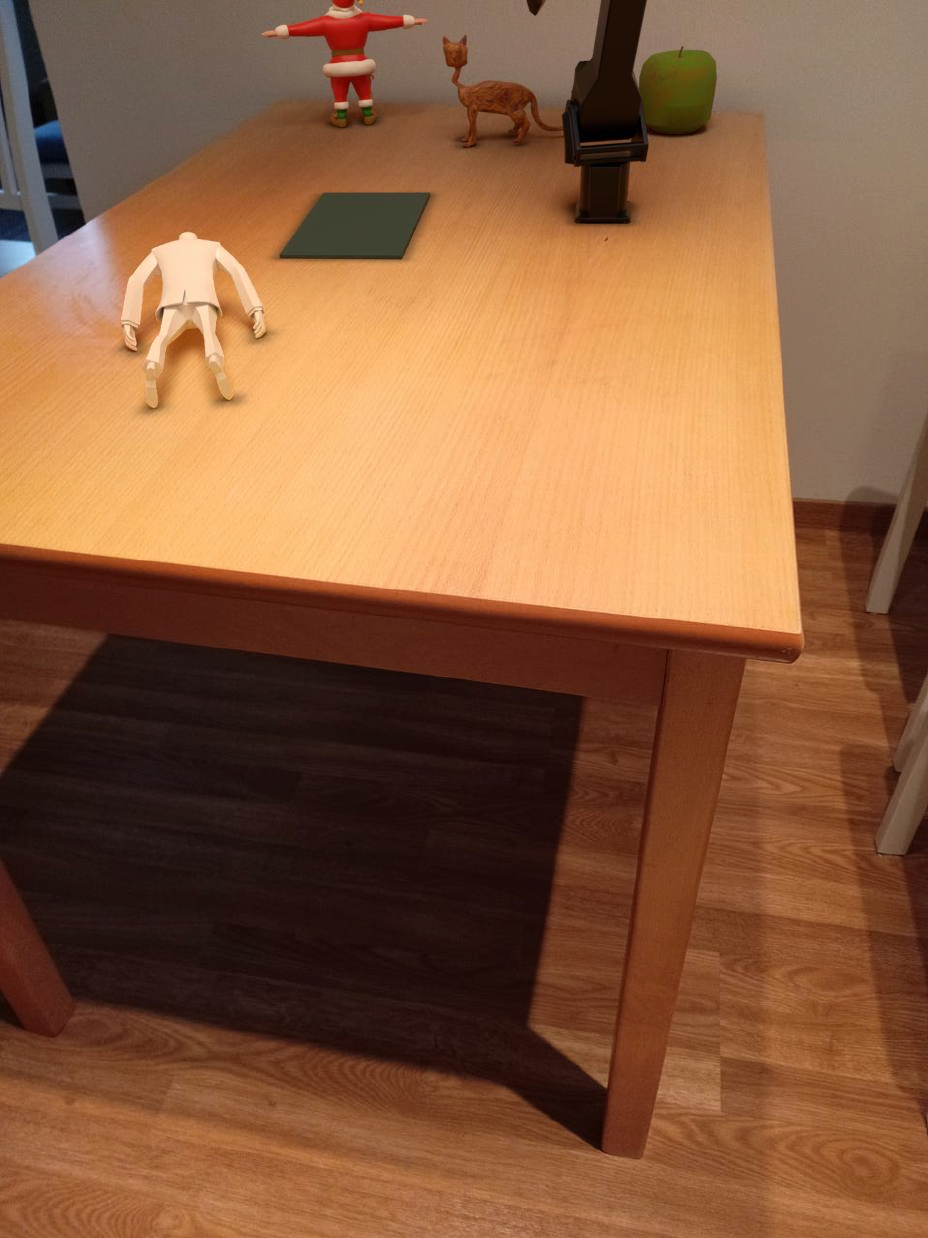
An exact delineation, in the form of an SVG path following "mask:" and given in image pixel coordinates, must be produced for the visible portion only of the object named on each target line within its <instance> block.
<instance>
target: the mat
mask: <svg viewBox="0 0 928 1238" xmlns="http://www.w3.org/2000/svg"><path fill="white" fill-rule="evenodd" d="M430 197H431V192H322V194H321V195H320V196H319V197H318V200H317V201H316V202H315V204H314V205H313V207H312V208H311V209H310V210H309V212H308V213H307V215H306V216H305V217H304V219H303V220H302V222H301V224H299V226H298V228H297V229H296V230H295V232H294V234H292V236H291V237H290V239H289V240H288V242H287V243H286V245H285V246H284V247H283V249H282V250H281V252H280V253H279V258H280V259H365V260H366V259H368V260H369V259H372V260H375V259H378V260H379V259H381V260H382V259H383V260H384V259H386V260H402V259H403V257H404V255H405V253H406V250H407V248H408V246H409V244H410V242H411V240H412V237H413V235H414V233H415V231H416V228H417V226H418V224H419V221H420V219H421V217H422V216H423V213H424V210H425V208H426V206H427V204H428V201H429V199H430Z"/></svg>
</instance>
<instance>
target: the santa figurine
mask: <svg viewBox="0 0 928 1238" xmlns="http://www.w3.org/2000/svg"><path fill="white" fill-rule="evenodd" d="M355 1H357V2H358V6H359V7H362V6H364V1H363V0H331V2H332V5H331V6H330V7H329V8H328V12H326V13H325V14H324V15H320V16H319V17H315V18H313V19H309V20H305V21H303V22H299V23H294V24H289V25H286V24H280V25H279V26H276V28H275V29H274V30H266V31H264V32H262V33H261V36H263V37H267V38H269V39H270V38H278V39H280V40H288V39H289V38H290V37H295V38H298V37H299V38H300V37H304V38H305V37H306V38H312V37H324V39H325V42H326V44H327V46H328V48H329V50H330V53H331V59H330V60H329V61H328V63H325V64H324V65H323V66H322V73H323V76H325V77H326V78H327V79H330V87H331V91H332V94H333V97H334V103H333V104H334V105H333V107H334V110H336V112H335V113H332V114H331V115H330V117H329V121H330V123H331V125H332V126H334V127H336V128H340V129H344V128H347V127H348V121H347V114H348V109H350V102H349V100H348V101H347V98H348V95H349V91H350V85H352V87H353V90H354V92H355V93H356V95H357V97H358V102H357V106H358V108H360V109H361V112H362V115H363V121H364V122H363V123H364V125H365V126H372V125H374V124H375V122H376V121H377V113H376V112H375V111H374V110H373V109H372V108H373V105H374V101H373V99H372V98H373V91H372V81H373V80H375V75H374V73H376V71H377V64H376V61H375V60H374V59H372V58H368V57H367V55H365V47H366V44H367V41H368V36H369V33H373V32H374V33H375V32H380V31H381V32H382V31H383V32H385V31H388V30H394V29H400V28H402V29H403V30H408V29H409V30H410V29H412V28H413V27H415V26H422V25H423V24H427V23H429V19H426V18H424V17H423V18H421V17H417V18H415V16H414V15H410V14H403V15H386V14H378V13H372V12H369V11H366V12H364V11H362V10H361V8H359V7H358V6H357V5H355Z"/></svg>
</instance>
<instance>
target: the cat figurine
mask: <svg viewBox="0 0 928 1238" xmlns="http://www.w3.org/2000/svg"><path fill="white" fill-rule="evenodd" d="M467 43H468V37H467V34H464V36H463V37H462V38H461V39H460V40H459V41H454V42H452V41H450V40H449V38H448V37H447V36H445V35H443V36H442V45H443V46H442V50H443V54H444V60H445V64H446V66H447V67H449V68H454V69H455V70H454V72H453V75H452V77H451V82H452V84H453V85H455V86H456V87H457V98H458V100H459V102H460V103H461V104H462V105H463V106H464V107H465V108H466V115H467V119H468V122H469V129H468V131H467V133H466V136H464V137H462V138H460V141H462V142H466V143H464V144H462V147H464V148H469V147H471V146H473V145H475V143H476V141H477V137H478V128H477V118H478V115H479V112H481V113H487V114H496V115H503V116H508V117H509V119H510V120H511V121H512V122H513V123H514V124H513V128H510V129H508V130H507V133H508V134H511V135H513V134H514V135H515V134H518V136H517V138H515V139H512V141H511V142H512V143H514V144H520V143H521V144H522V142H523V140H524V138H525V136H527V133H528V132H529V130H530V128H531V125H532V124H531V121H530V120H529V119H528V117H527V112H526V111H525V110H524V109H525V108H526V107H527V106H528V104H529V103H530V110H531V116H532V118H533V121H534V122H535V124H536V125H537V127H539V128H540V129H541V130H544V131H547V132H561V131H562V132H563V125H551V124H547V123H546V122H544V121H543V120H542V119H541V117H540V114H539V104H538V99H537V97H536V94H535V93H534V92H533V91H532V90H531V89H530V88H528V87H526V86H524V85H523V84H521V83H517V82H512V81H504V80H503V81H501V80H483V81H479V82H478V83H475V84H473V85H471V86H470V85H465V84H463V83H460V82H459V79H460V76H461V72H462V68H463V67H465V66H467V64H468V46H467ZM519 130H520V131H519Z"/></svg>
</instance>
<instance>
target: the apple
mask: <svg viewBox="0 0 928 1238" xmlns="http://www.w3.org/2000/svg"><path fill="white" fill-rule="evenodd" d="M717 72H718V71H717V62H716V59H715V58H714V57H713V56H712V55H711V53H709V52H708V51H705V50H703V49H684V45H681V47H680V49H676V50H666V51H662V52H656V53H653V54H651V55H650V56H649V57H648V58H646V60H645V61H644V62H642V65H641V69H640V73H639V77H638V87H639V91H640V94H641V97H642V102H643V108H644V115H645V122H646V127H649V128H650V129H651V130H653V131H654V133H655V132H656V133H659V134H663V135H664V134H666V135H683V134H684V135H685V134H692V133H694V132H696V131H697V130H698V129H700V128H701V127H703V126H704V125H705V124H707V123H708V121H709V120H711V117H712V112H713V111H712V110H713V105H714V100H715V93H716V87H717V82H718V81H717V80H718V75H717V74H718V73H717Z"/></svg>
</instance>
